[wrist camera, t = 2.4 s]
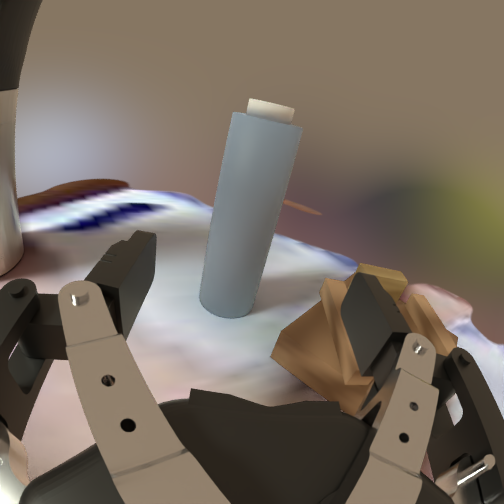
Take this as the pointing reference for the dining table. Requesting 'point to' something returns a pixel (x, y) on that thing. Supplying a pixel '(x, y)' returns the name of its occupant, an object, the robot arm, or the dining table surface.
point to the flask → (247, 205)
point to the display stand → (337, 342)
